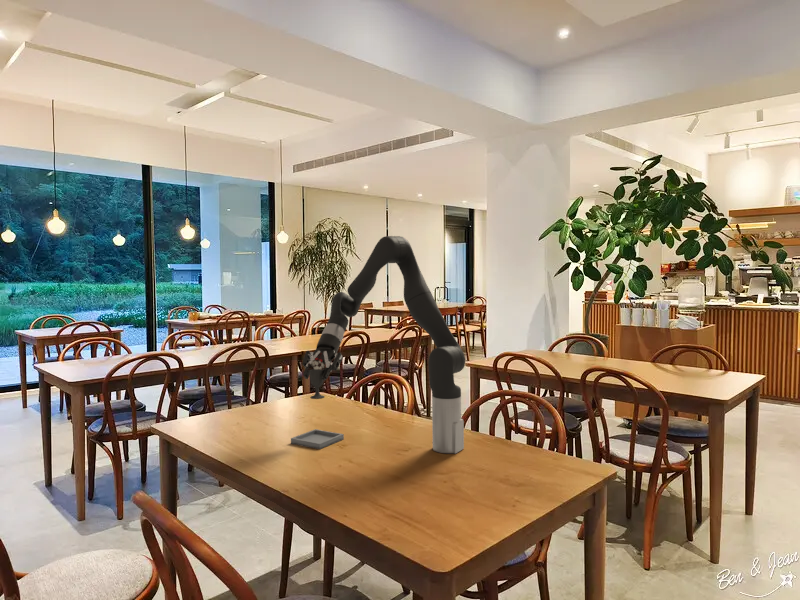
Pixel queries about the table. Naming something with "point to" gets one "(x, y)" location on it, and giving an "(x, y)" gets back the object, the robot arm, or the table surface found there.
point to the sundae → (316, 375)
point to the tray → (317, 439)
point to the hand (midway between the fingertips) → (314, 378)
